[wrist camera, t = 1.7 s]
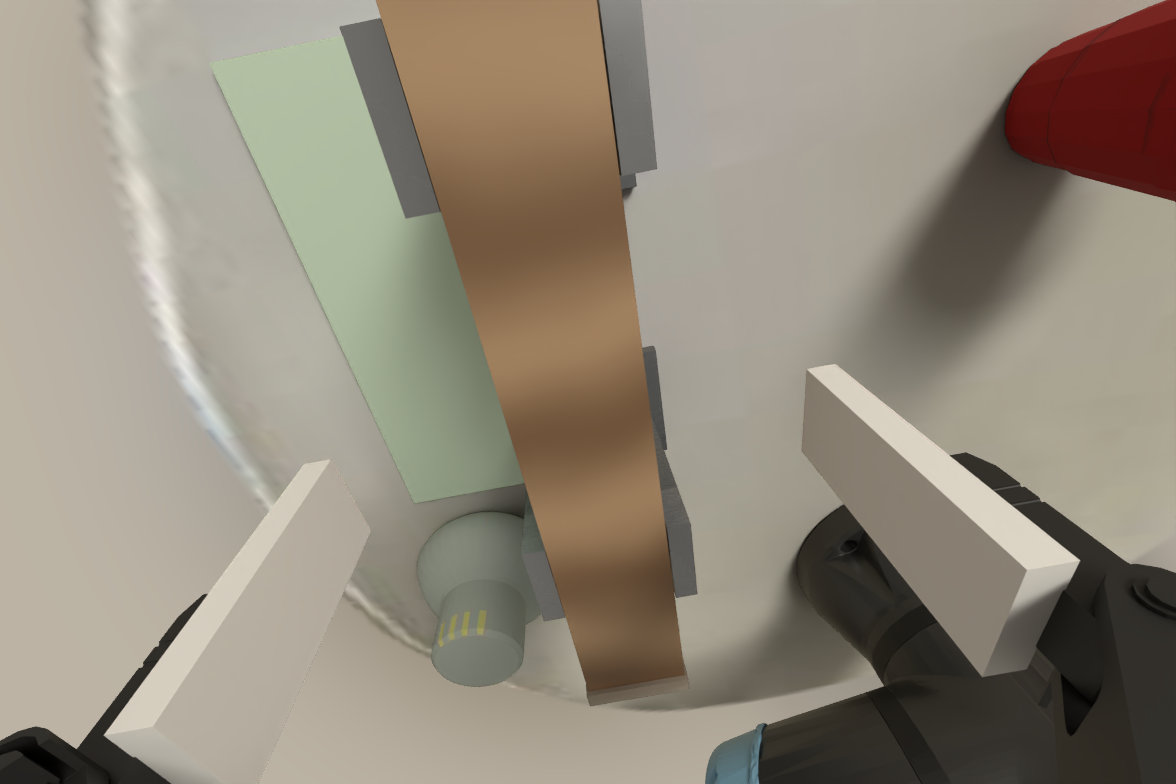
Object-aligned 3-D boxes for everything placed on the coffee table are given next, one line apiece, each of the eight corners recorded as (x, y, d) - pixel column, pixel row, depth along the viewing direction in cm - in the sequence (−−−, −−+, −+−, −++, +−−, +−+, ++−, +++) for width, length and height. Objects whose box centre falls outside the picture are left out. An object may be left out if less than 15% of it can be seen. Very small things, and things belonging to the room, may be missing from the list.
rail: (667, 601, 25) (689, 689, 21) (583, 616, 26) (589, 706, 21) (557, -172, 12) (559, -341, 7) (374, -133, 12) (280, -279, 8)
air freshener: (415, 512, 37) (373, 629, 28) (513, 480, 36) (501, 591, 27) (476, 598, 42) (456, 720, 33) (563, 572, 41) (567, 690, 32)
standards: (664, 443, 35) (728, 613, 22) (533, 467, 35) (524, 649, 23) (613, 8, 23) (691, -157, 10) (412, 49, 23) (243, -61, 10)
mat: (530, 478, 36) (530, 482, 36) (415, 500, 36) (414, 503, 36) (395, 26, 23) (392, 24, 22) (214, 64, 23) (209, 62, 22)
